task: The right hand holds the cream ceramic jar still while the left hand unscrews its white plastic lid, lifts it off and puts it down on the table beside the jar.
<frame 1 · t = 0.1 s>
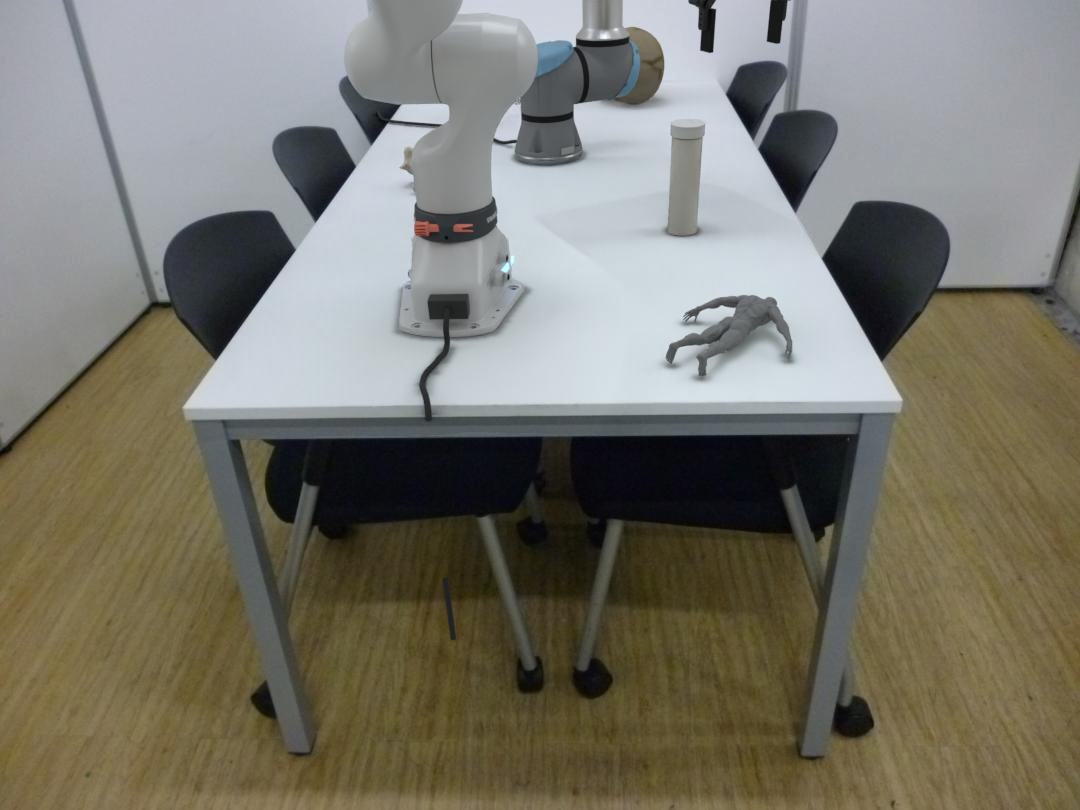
right hand: (740, 47, 140), 28 cm above the table, tool pointing down, fingers open, 13 cm apart
bone: (425, 188, 172), on the table
jar: (682, 230, 147), on the table
lid: (687, 125, 137), point 18 cm above the table, screwed on, not yet turned
figurine: (729, 344, 111), on the table
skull: (625, 100, 232), on the table
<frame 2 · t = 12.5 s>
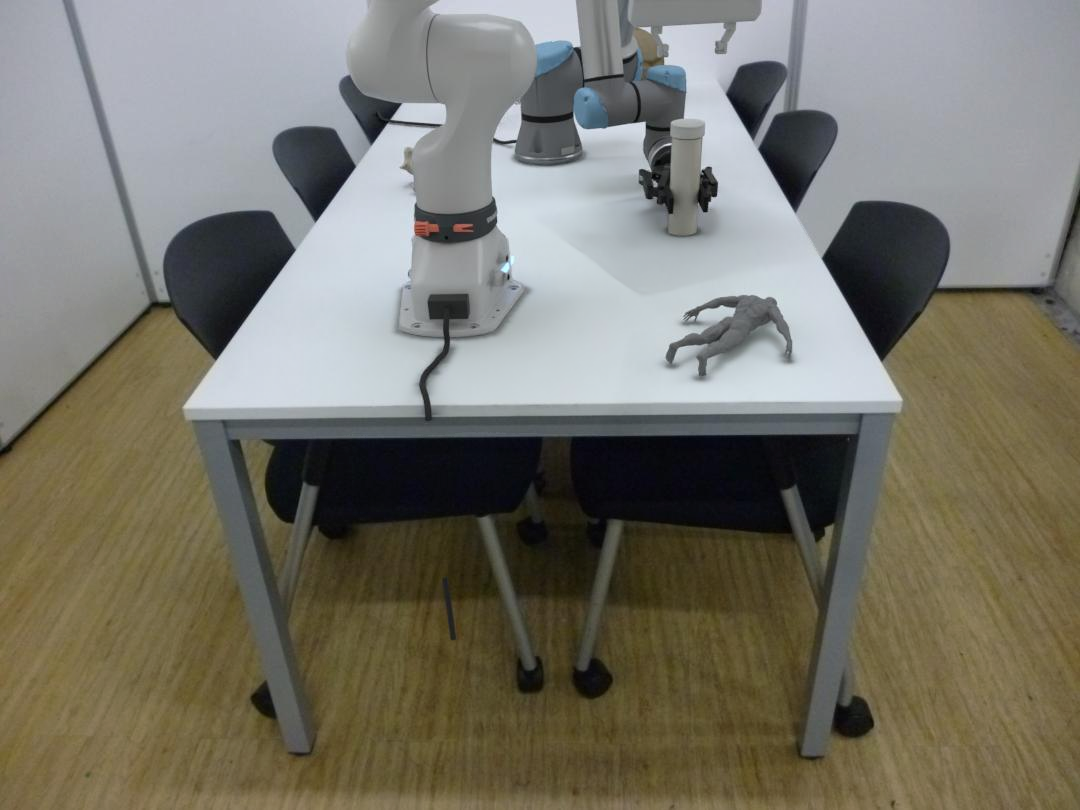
left hand: (691, 55, 131), 29 cm above the table, tool pointing down, fingers open, 8 cm apart
right hand: (688, 205, 139), 6 cm above the table, tool horizontal, fingers closed on jar, 5 cm apart
jar: (682, 230, 147), on the table, touching right hand
everything else where it was.
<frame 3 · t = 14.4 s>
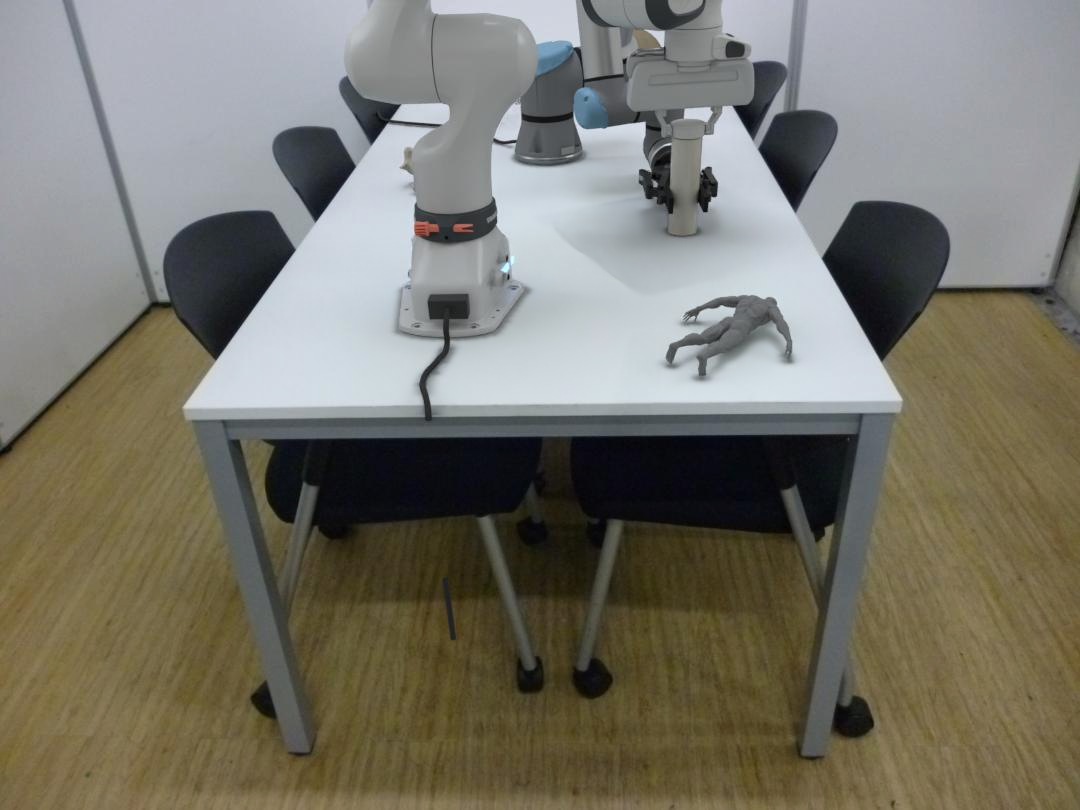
left hand: (687, 135, 138), 16 cm above the table, tool pointing down, fingers closed on lid, 5 cm apart
right hand: (688, 205, 139), 6 cm above the table, tool horizontal, fingers closed on jar, 5 cm apart
jar: (682, 230, 147), on the table, touching right hand
lid: (687, 125, 137), point 18 cm above the table, screwed on, not yet turned, touching left hand
everything else where it was.
when the left hand's fingers open (17 cm above the table, at t = 15.6 s): lid stays where it is, point 18 cm above the table.
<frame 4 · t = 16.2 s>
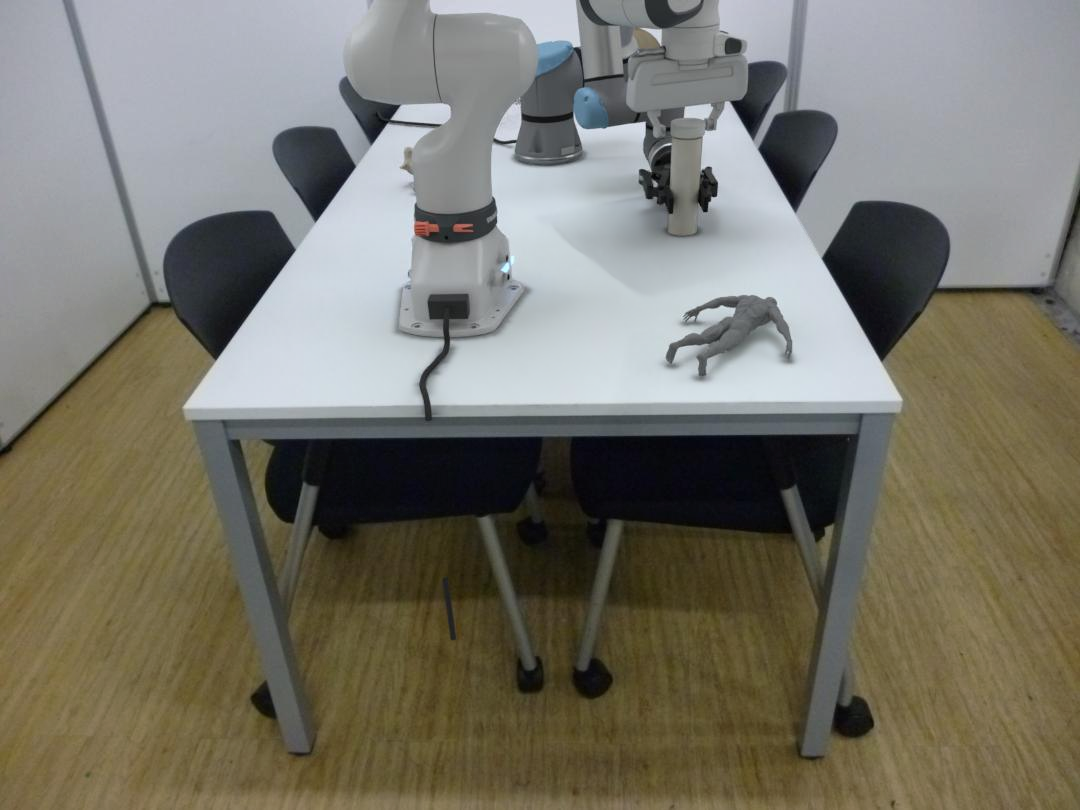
left hand: (684, 133, 138), 17 cm above the table, tool pointing down, fingers open, 8 cm apart
right hand: (688, 205, 139), 6 cm above the table, tool horizontal, fingers closed on jar, 5 cm apart
jar: (682, 230, 147), on the table, touching right hand
lid: (688, 124, 137), point 18 cm above the table, turned 61° so far, risen 0.1 cm, still on its thread
everything else where it was.
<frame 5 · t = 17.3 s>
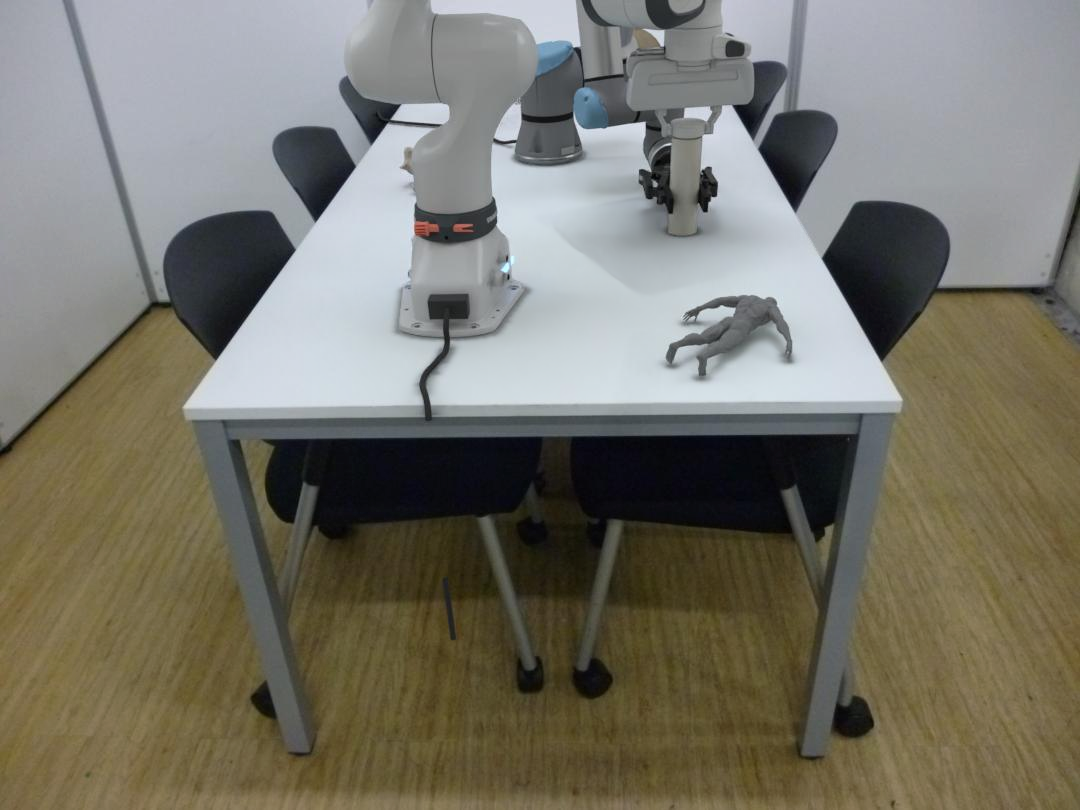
left hand: (687, 134, 138), 17 cm above the table, tool pointing down, fingers closed on lid, 5 cm apart
right hand: (688, 205, 139), 6 cm above the table, tool horizontal, fingers closed on jar, 5 cm apart
jar: (682, 230, 147), on the table, touching right hand
lid: (687, 124, 137), point 18 cm above the table, turned 61° so far, risen 0.1 cm, still on its thread, touching left hand
everything else where it was.
when the left hand's fingers open (2 cm above the table, at t = 23.6 s): lid drops 2 cm, point 2 cm above the table.
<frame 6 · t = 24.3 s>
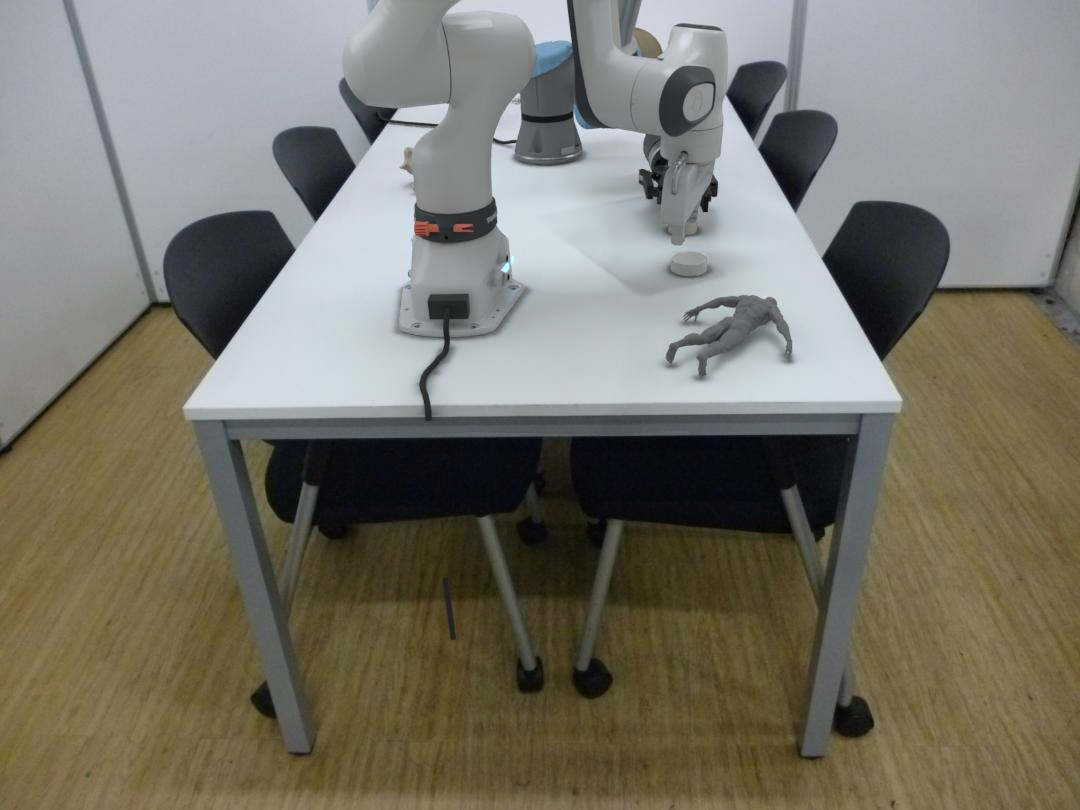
left hand: (684, 232, 130), 6 cm above the table, tool pointing down, fingers open, 8 cm apart
right hand: (688, 205, 139), 6 cm above the table, tool horizontal, fingers closed on jar, 5 cm apart
jar: (682, 230, 147), on the table, touching right hand
lid: (689, 260, 131), point 2 cm above the table, off its thread
everything else where it was.
when the right hand's fingers open (6 cm above the table, at t = 24.5 s): jar stays where it is, on the table.
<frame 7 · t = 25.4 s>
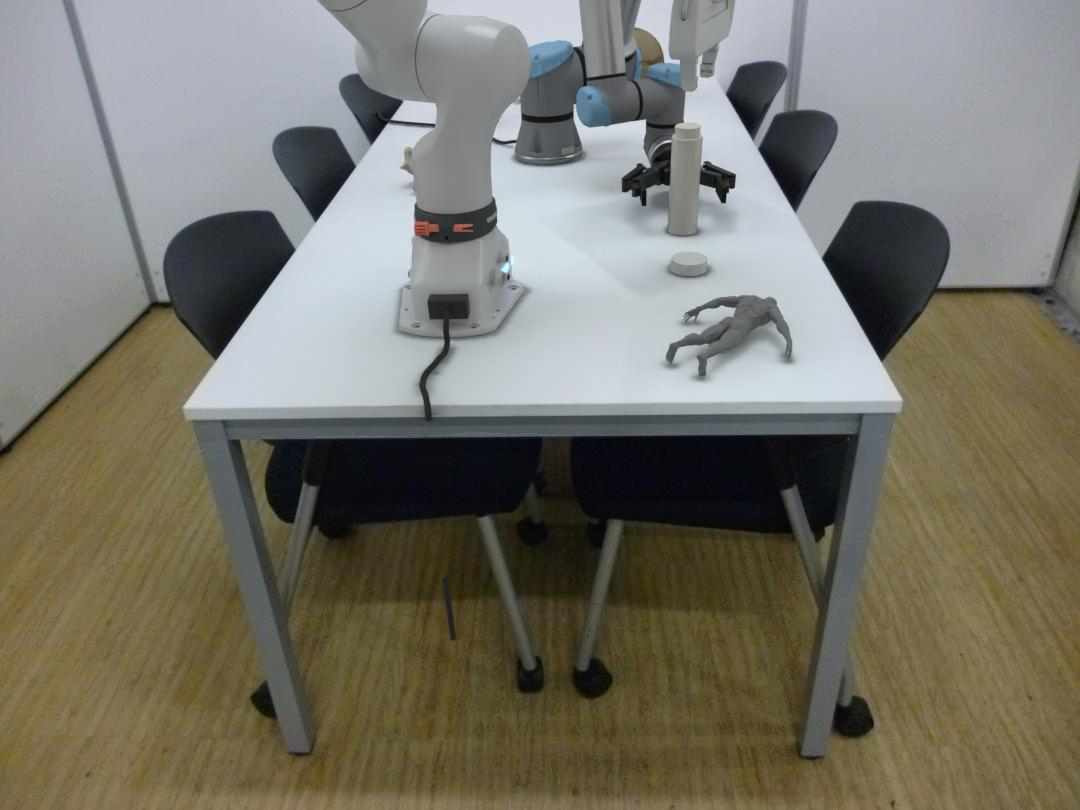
left hand: (698, 83, 116), 28 cm above the table, tool pointing down, fingers open, 8 cm apart
right hand: (684, 197, 142), 6 cm above the table, tool horizontal, fingers open, 13 cm apart
jar: (682, 230, 147), on the table
everything else where it was.
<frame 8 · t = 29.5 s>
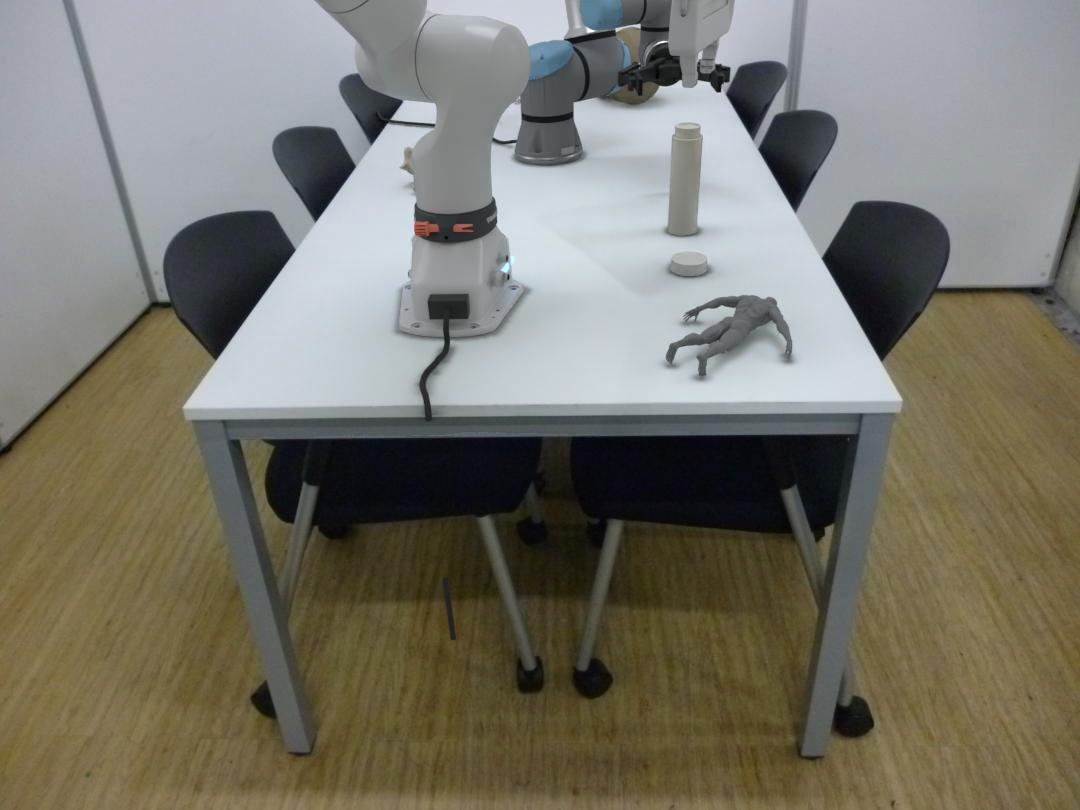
left hand: (698, 79, 116), 29 cm above the table, tool pointing down, fingers open, 8 cm apart
right hand: (680, 86, 144), 22 cm above the table, tool horizontal, fingers open, 13 cm apart
nothing on the table moved.
at the end: lid came off its thread; lid point 1.6 cm above the table; the left hand is holding nothing; the right hand is holding nothing; jar tilted 0°; jar moved 0.1 cm from its start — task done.
